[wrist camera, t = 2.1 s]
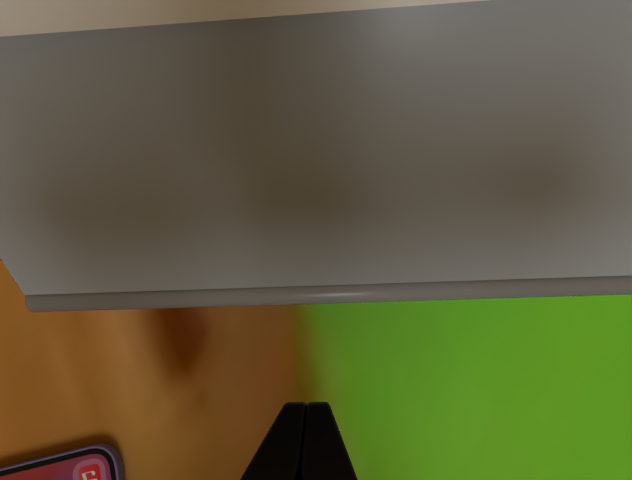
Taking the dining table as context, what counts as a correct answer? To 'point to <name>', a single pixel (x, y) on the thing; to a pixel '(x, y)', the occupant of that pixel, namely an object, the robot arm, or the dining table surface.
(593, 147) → the duct cover
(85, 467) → the smartphone
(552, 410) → the dining table surface
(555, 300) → the dining table surface
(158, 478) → the dining table surface
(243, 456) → the dining table surface
